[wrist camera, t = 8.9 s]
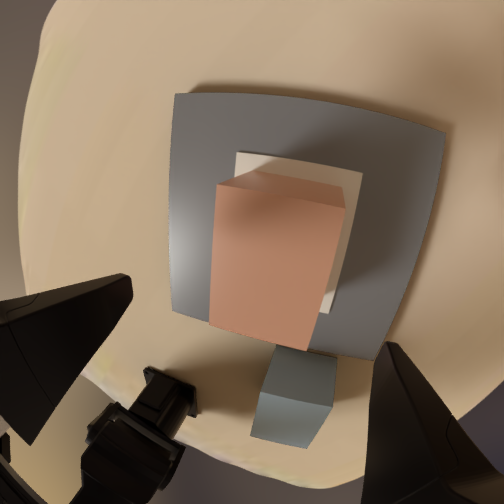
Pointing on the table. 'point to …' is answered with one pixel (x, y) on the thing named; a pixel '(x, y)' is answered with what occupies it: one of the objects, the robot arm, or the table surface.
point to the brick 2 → (295, 397)
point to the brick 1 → (273, 255)
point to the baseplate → (314, 169)
